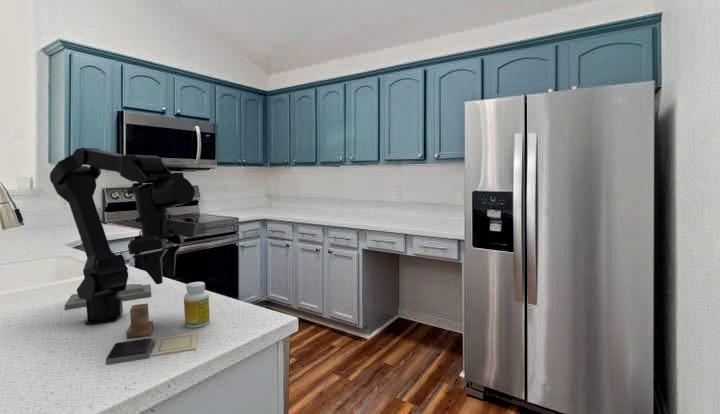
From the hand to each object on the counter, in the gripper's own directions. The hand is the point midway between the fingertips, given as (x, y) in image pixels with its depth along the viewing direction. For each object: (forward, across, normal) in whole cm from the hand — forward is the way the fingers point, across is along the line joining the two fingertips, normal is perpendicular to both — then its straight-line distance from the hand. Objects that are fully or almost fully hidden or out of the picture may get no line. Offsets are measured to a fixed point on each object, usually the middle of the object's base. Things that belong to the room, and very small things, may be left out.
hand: (166, 280), depth 83 cm
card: (+13, -5, -1) cm, 14 cm away
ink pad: (+12, -8, +7) cm, 16 cm away
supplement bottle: (+12, +5, -3) cm, 14 cm away
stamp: (+11, +2, +8) cm, 14 cm away
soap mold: (+6, +30, +24) cm, 39 cm away
